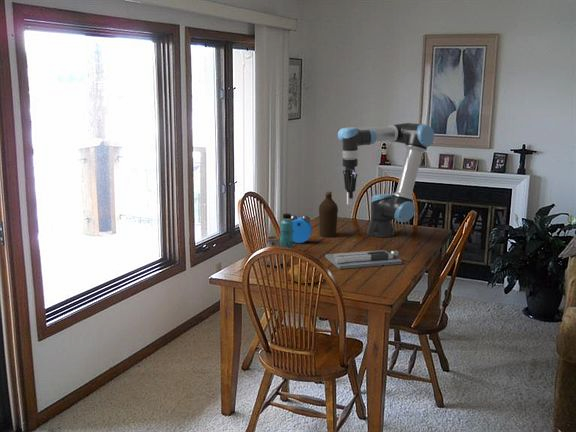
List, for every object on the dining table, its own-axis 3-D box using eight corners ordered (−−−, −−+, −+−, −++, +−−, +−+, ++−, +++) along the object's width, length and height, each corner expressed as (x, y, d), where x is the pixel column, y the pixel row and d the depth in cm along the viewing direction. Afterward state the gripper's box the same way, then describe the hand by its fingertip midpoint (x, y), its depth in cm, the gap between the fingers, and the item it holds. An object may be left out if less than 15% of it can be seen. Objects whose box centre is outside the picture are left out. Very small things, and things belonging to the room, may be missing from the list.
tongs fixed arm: (396, 255, 301) (396, 250, 300) (400, 258, 296) (401, 252, 295) (333, 260, 292) (333, 254, 291) (337, 263, 287) (337, 257, 286)
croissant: (284, 281, 274) (282, 264, 272) (316, 272, 279) (314, 256, 277) (296, 290, 261) (293, 272, 259) (329, 281, 266) (327, 264, 264)
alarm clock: (311, 241, 333) (312, 214, 330) (310, 244, 327) (311, 216, 324) (288, 240, 335) (288, 213, 332) (286, 243, 329) (286, 215, 326)
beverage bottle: (279, 250, 315) (279, 212, 310) (292, 250, 315) (292, 212, 311) (280, 253, 309) (280, 215, 304) (293, 253, 309) (293, 215, 305)
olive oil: (328, 238, 339) (329, 194, 333) (314, 235, 346) (315, 191, 341) (341, 235, 346) (342, 192, 340) (327, 232, 353) (328, 189, 348)
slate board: (384, 252, 312) (384, 249, 311) (402, 263, 293) (402, 260, 293) (325, 257, 303) (325, 254, 303) (339, 269, 284) (339, 266, 284)
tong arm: (385, 255, 301) (385, 250, 300) (387, 257, 298) (387, 252, 297) (333, 259, 294) (334, 254, 293) (335, 260, 291) (336, 255, 291)
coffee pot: (261, 260, 297) (261, 230, 294) (285, 260, 297) (285, 230, 294) (259, 274, 277) (259, 242, 273) (285, 274, 276) (285, 242, 273)
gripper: (338, 157, 313) (338, 202, 318) (348, 160, 301) (348, 207, 306) (351, 156, 315) (351, 201, 321) (362, 159, 303) (361, 206, 309)
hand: (349, 204), depth 313 cm, fingers closed
